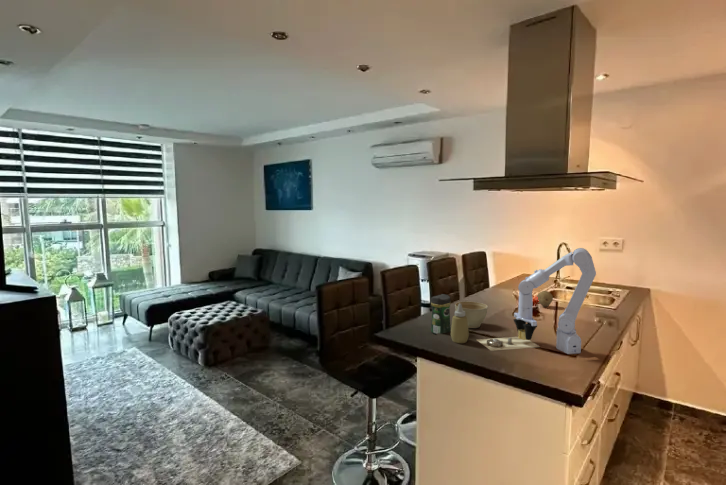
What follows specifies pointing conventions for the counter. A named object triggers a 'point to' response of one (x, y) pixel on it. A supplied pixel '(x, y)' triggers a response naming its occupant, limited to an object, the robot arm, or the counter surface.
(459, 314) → the squeeze bottle
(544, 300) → the natural sponge
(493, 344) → the drive gear
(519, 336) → the brass gear
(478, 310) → the planter bowl
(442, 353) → the counter surface
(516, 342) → the gear board
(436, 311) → the coffee jar
